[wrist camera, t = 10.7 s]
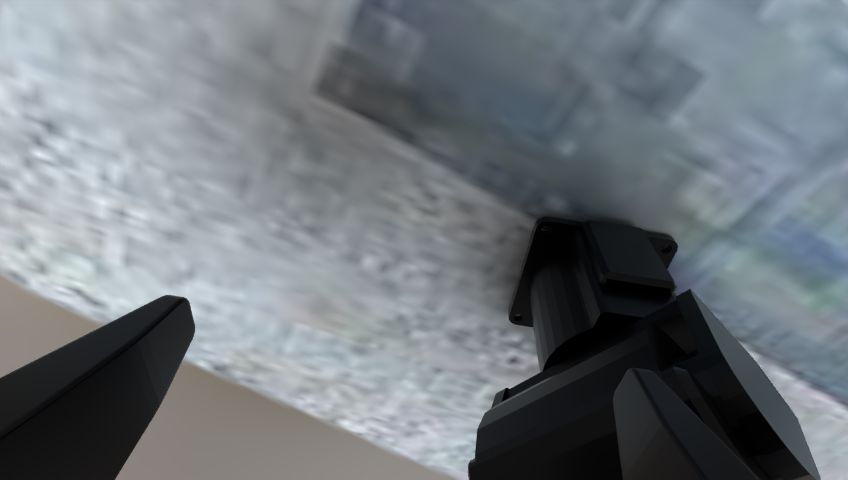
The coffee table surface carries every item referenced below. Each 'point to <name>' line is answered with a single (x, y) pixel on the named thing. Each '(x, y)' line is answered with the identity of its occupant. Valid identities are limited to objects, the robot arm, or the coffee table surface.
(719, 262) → the coffee table surface
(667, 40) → the coffee table surface
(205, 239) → the coffee table surface
